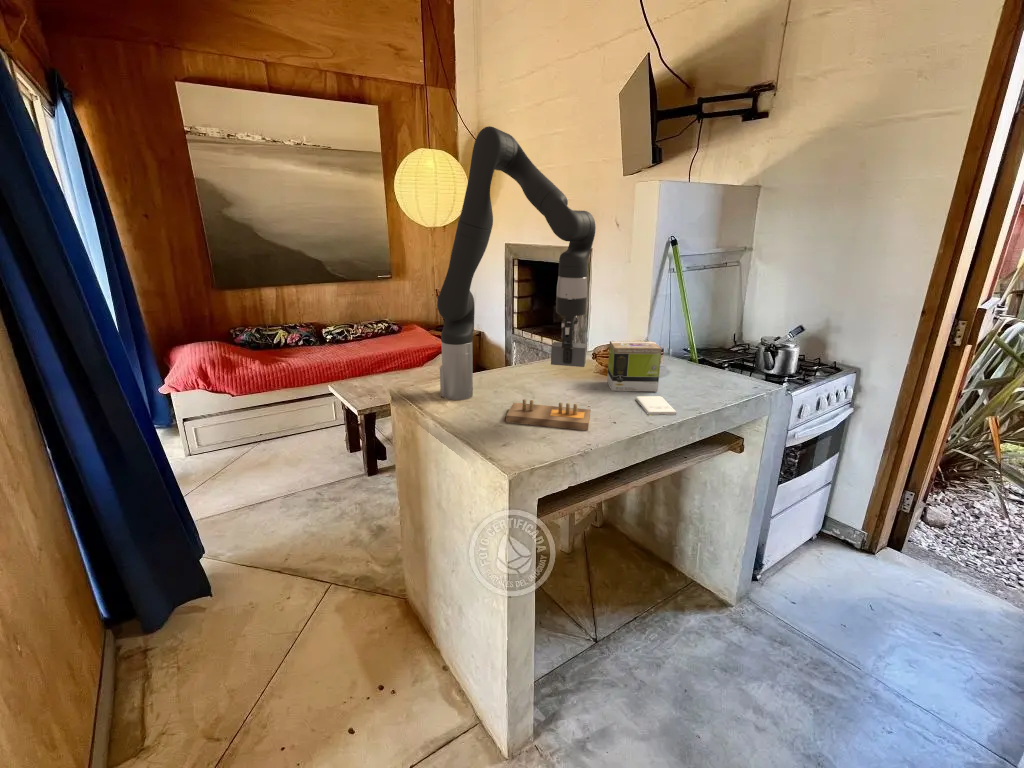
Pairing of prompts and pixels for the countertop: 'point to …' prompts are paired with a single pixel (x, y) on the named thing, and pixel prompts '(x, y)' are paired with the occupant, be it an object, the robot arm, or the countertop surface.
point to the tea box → (634, 366)
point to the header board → (549, 415)
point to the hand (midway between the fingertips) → (568, 360)
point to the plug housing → (577, 354)
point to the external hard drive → (655, 405)
